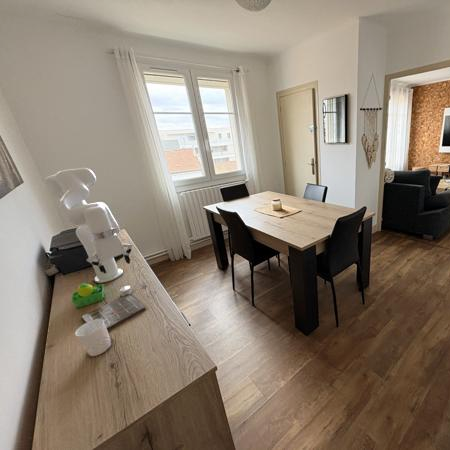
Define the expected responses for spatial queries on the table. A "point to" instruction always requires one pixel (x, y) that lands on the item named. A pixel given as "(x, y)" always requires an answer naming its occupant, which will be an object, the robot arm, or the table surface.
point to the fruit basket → (87, 295)
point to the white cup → (94, 337)
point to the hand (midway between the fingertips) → (116, 267)
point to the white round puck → (125, 290)
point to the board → (116, 311)
